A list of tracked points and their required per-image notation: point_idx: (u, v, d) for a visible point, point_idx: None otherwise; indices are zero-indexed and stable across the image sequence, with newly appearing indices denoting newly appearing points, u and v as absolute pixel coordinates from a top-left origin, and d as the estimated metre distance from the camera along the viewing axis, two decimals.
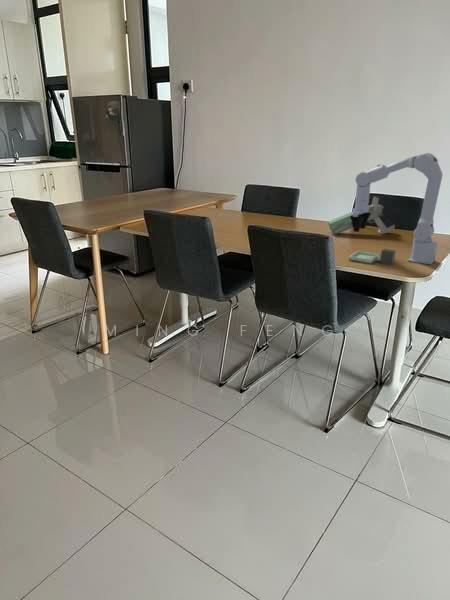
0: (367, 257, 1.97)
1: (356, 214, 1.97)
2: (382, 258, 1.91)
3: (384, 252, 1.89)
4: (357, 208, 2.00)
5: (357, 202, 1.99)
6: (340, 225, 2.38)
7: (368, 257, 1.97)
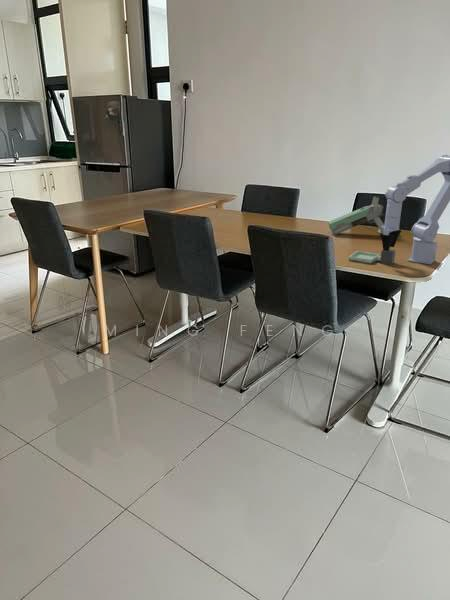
0: (367, 257, 1.97)
1: (387, 232, 1.81)
2: (382, 258, 1.91)
3: (384, 252, 1.89)
4: (387, 225, 1.84)
5: (388, 219, 1.83)
6: (340, 225, 2.38)
7: (368, 257, 1.97)
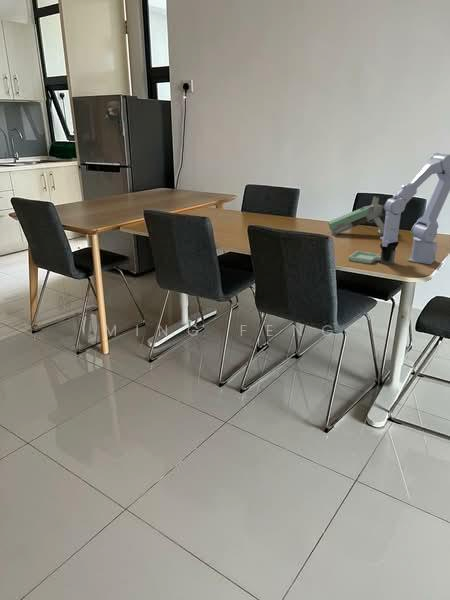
0: (367, 257, 1.97)
1: (385, 244, 1.82)
2: (382, 258, 1.91)
3: None
4: (386, 237, 1.86)
5: (386, 231, 1.85)
6: (340, 225, 2.37)
7: (368, 257, 1.97)
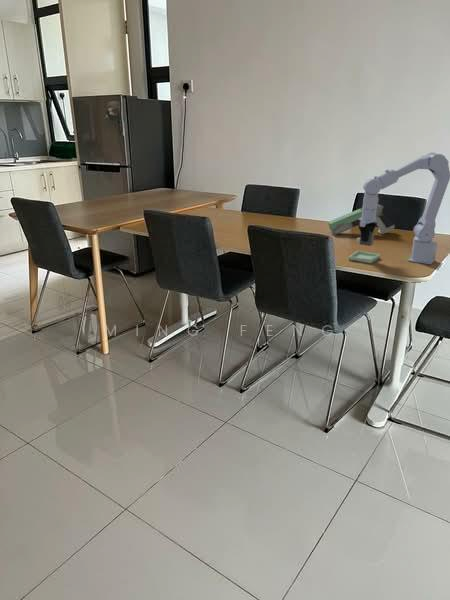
0: (367, 257, 1.97)
1: (363, 224, 1.85)
2: (361, 239, 1.93)
3: None
4: (364, 217, 1.89)
5: (364, 211, 1.88)
6: (340, 225, 2.37)
7: (368, 257, 1.97)
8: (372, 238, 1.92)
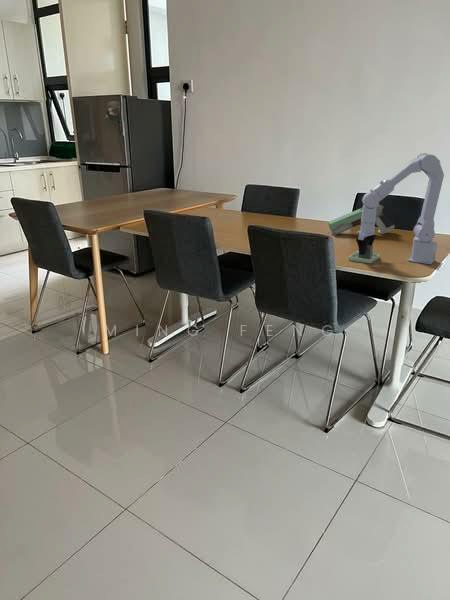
0: None
1: (362, 237, 1.87)
2: None
3: None
4: (363, 230, 1.91)
5: (363, 224, 1.90)
6: (340, 225, 2.37)
7: None
8: (370, 252, 1.94)
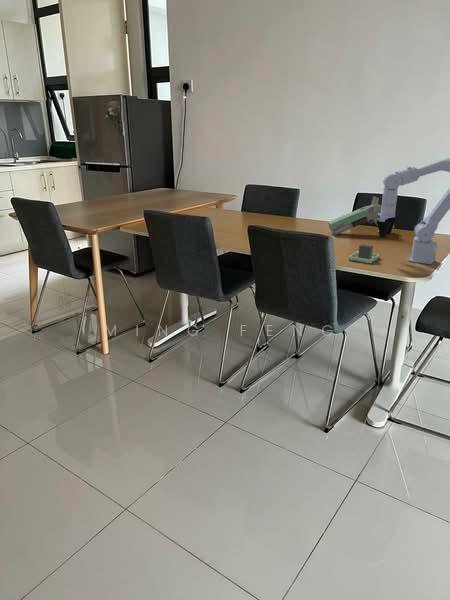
0: None
1: (383, 219, 1.85)
2: (360, 253, 1.96)
3: (362, 247, 1.94)
4: (383, 212, 1.88)
5: (384, 206, 1.88)
6: (340, 225, 2.37)
7: None
8: (370, 252, 1.94)
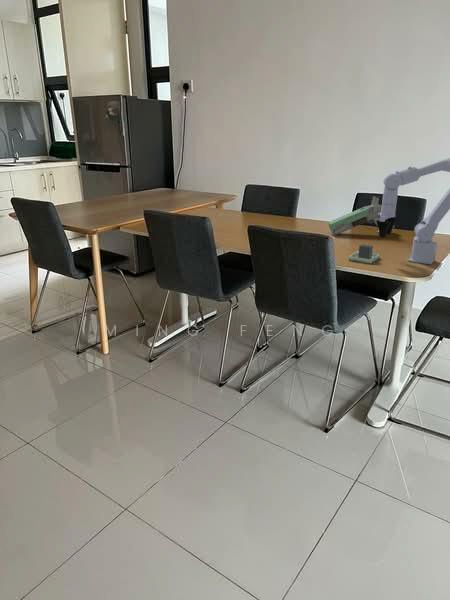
0: None
1: (383, 219, 1.85)
2: (360, 253, 1.96)
3: (362, 247, 1.94)
4: (384, 212, 1.88)
5: (384, 206, 1.88)
6: (340, 225, 2.37)
7: None
8: (370, 252, 1.94)
